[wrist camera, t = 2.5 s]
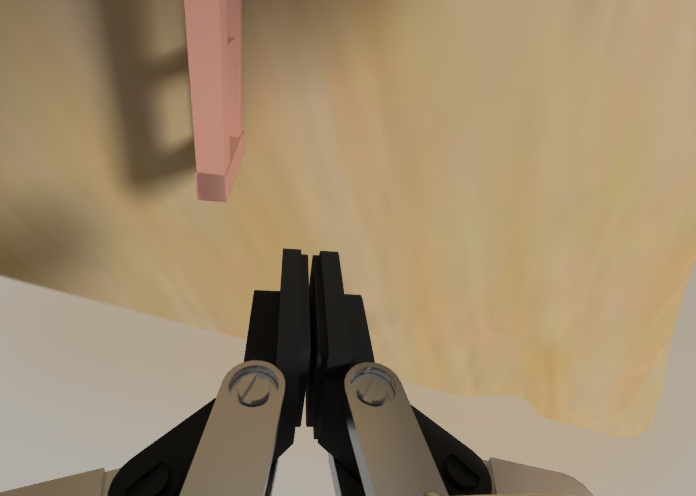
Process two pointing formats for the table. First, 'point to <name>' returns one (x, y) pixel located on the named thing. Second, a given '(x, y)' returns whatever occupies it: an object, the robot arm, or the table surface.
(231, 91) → the gate
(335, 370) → the robot arm
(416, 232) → the table surface
